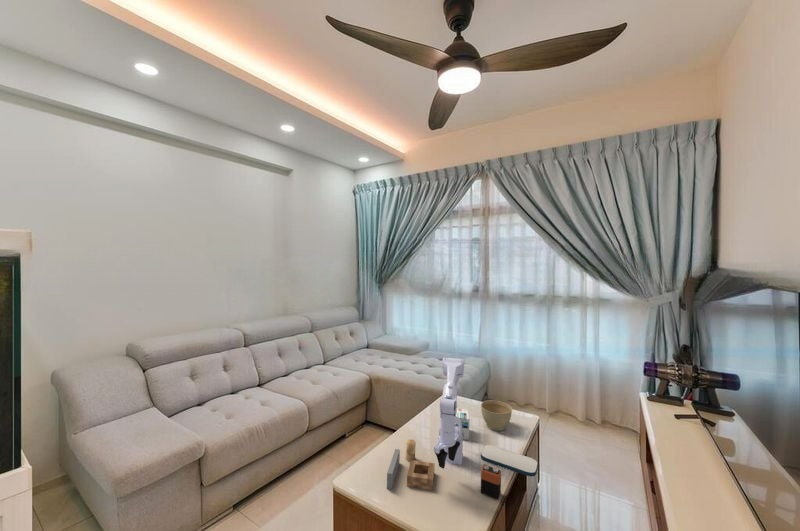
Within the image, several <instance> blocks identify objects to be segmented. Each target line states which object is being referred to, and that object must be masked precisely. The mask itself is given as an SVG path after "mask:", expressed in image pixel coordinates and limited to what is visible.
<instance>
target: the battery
mask: <svg viewBox="0 0 800 531" xmlns="http://www.w3.org/2000/svg"><path fill="white" fill-rule="evenodd" d="M501 489H502V470H501V469H499V468H498V467H496V466H495V467H493V466H490V465H488V464H483V466H482V468H481V473H480V493H481V494H482V495H485V496H487V497H490V498H492V499H495V500H499V499H500V496H501V493H502V492H501V491H502V490H501Z"/></svg>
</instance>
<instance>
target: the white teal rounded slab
mask: <svg viewBox="0 0 800 531" xmlns="http://www.w3.org/2000/svg"><path fill="white" fill-rule="evenodd" d="M480 458H481V460H483V461H484V462H487V463H489V464H492V465H495V466H498V465H499V466H498V467H500V466H501V468H503V467H504V469H506V468H507V470H509V469H510V470H509V471H512V472H516V473H518V474H521V475H524V476H527V477H535V476H536V475H537V472H538V466H539V463H538V461H537V460H535V459H534V458H532V457H529V456H526V455H523V454H520V453H517V452H513V451H511V450H507V449H504V448H500V447H498V446H495V445H491V444H486V445H484V446H483V448H482V450H481V452H480Z"/></svg>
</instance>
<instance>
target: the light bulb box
mask: <svg viewBox="0 0 800 531" xmlns="http://www.w3.org/2000/svg"><path fill="white" fill-rule="evenodd" d="M456 416H457V417H458V418H459V419H460V420H461V422H462V434H461V440H465V441H470V420H471V419H470V410H469V409H465V408H458V407H457V413H456ZM457 425H458V424H457Z"/></svg>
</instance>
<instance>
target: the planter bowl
mask: <svg viewBox="0 0 800 531" xmlns="http://www.w3.org/2000/svg"><path fill="white" fill-rule="evenodd" d="M480 407H481V415H482V418H483V420H484V421H485V423H486V426H487V428H489V429H490V430H491V431H492V430H493V431H497V432H499V431H500V432H502V431H504V430H505V429H506V427H507V426H508V425H509V423H510V421H511V418H512V412H513V408H512V406H510V405H509V404H508V403H506V402H504V401H500V400H499V401H498V400H485V401H482V402H481V404H480Z"/></svg>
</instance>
